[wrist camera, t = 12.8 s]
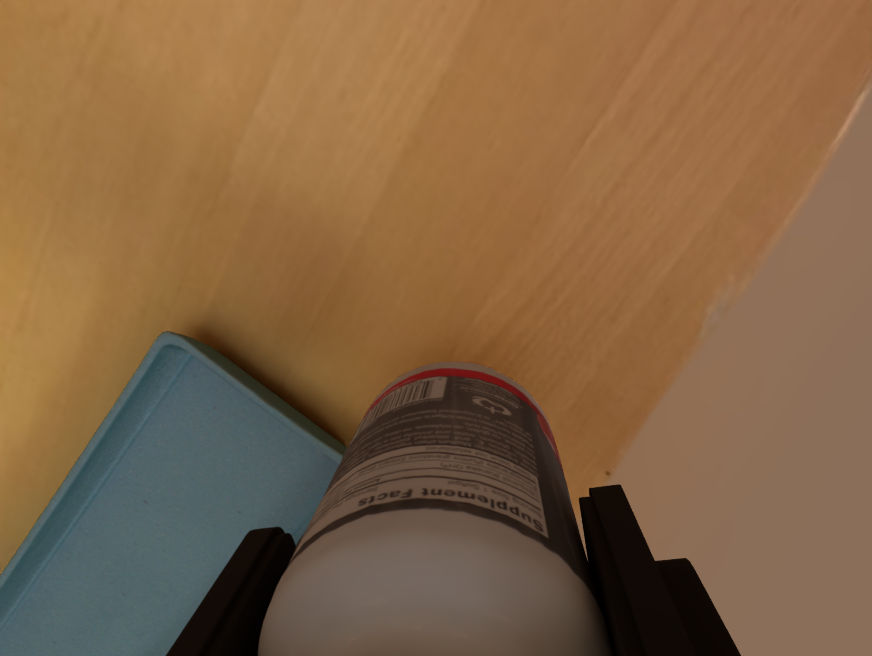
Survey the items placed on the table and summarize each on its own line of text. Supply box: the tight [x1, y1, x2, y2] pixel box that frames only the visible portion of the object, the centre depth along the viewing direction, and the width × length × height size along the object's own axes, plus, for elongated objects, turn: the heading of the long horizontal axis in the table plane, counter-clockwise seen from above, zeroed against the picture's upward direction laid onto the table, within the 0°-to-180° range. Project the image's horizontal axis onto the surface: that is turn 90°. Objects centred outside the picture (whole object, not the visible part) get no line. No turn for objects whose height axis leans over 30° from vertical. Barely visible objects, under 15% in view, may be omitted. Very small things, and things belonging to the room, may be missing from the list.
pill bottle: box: [257, 362, 613, 656], centre depth 10 cm, size 5×5×10 cm
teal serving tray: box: [0, 331, 347, 656], centre depth 22 cm, size 26×9×2 cm, turn 141°
